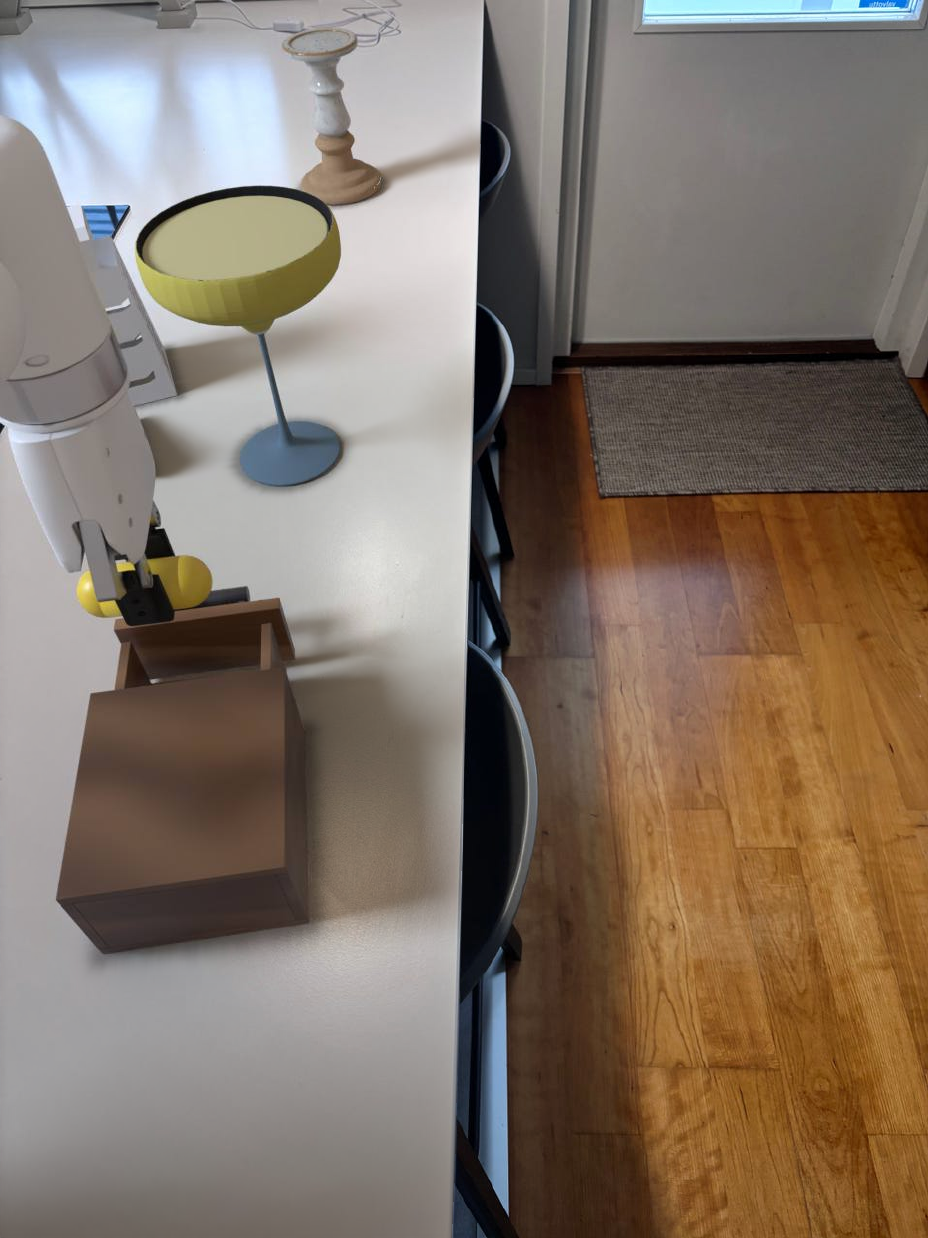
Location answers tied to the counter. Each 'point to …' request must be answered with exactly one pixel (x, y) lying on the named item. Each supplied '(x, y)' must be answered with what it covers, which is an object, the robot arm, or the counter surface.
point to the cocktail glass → (249, 292)
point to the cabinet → (188, 813)
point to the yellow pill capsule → (179, 577)
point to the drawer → (205, 640)
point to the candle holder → (331, 118)
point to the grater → (125, 314)
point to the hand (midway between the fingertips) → (154, 595)
